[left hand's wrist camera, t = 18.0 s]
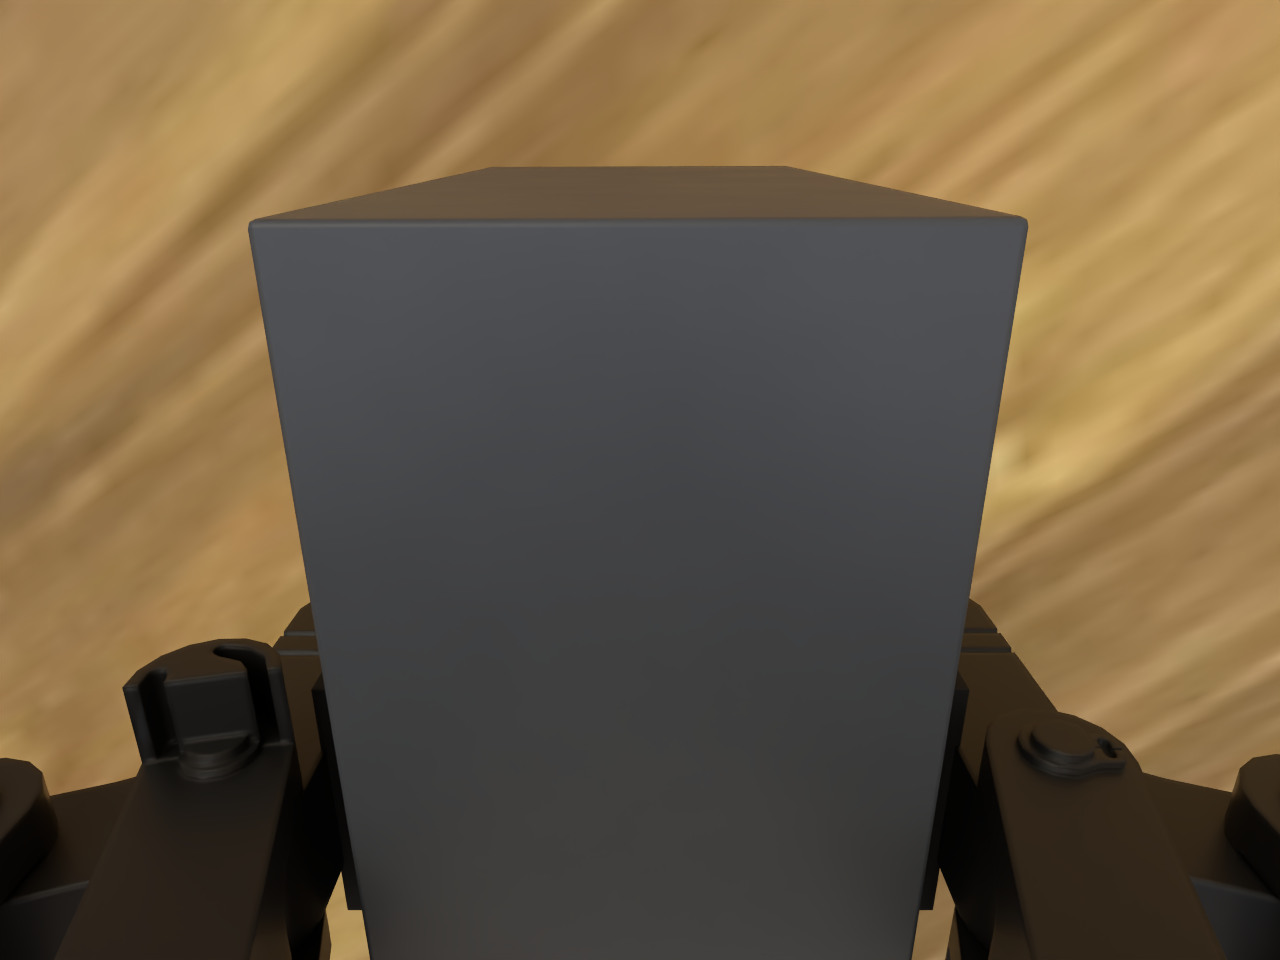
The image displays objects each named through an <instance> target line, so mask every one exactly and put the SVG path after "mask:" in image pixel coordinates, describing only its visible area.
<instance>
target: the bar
mask: <svg viewBox="0 0 1280 960" xmlns="http://www.w3.org/2000/svg"><path fill="white" fill-rule="evenodd" d="M1027 231H1028V222H1027V219H1025V218H1023V217H1021V216H1016V215H1012V214H1007V213H1002V212H998V211H993V210H988V209H984V208H979V207H974V206H970V205H965V204H960V203H956V202H951V201H946V200H942V199H937V198H932V197H928V196H923V195H918V194H914V193H909V192H904V191H900V190H895V189H890V188H886V187H881V186H876V185H872V184H867V183H862V182H858V181H853V180H848V179H844V178H839V177H834V176H830V175H825V174H820V173H816V172H811V171H806V170H802V169H797V168H792V167H788V166H677V167H490V168H486V169H481V170H477V171H472V172H468V173H463V174H459V175H454V176H449V177H445V178H440V179H436V180H431V181H427V182H422V183H418V184H413V185H408V186H404V187H399V188H395V189H390V190H386V191H381V192H377V193H372V194H367V195H363V196H358V197H354V198H349V199H345V200H340V201H336V202H331V203H327V204H322V205H317V206H313V207H308V208H304V209H299V210H295V211H290V212H286V213H281V214H276V215H272V216H267V217H263V218H258V219H255V220H253V221H251V222H249V227H248V232H249V238H250V244H251V250H252V256H253V262H254V268H255V274H256V280H257V286H258V292H259V298H260V304H261V310H262V315H263V321H264V327H265V333H266V339H267V345H268V351H269V357H270V363H271V369H272V375H273V381H274V387H275V393H276V399H277V405H278V411H279V417H280V423H281V429H282V435H283V441H284V447H285V453H286V459H287V465H288V471H289V477H290V483H291V489H292V495H293V501H294V507H295V513H296V519H297V525H298V531H299V537H300V543H301V549H302V554H303V560H304V566H305V572H306V578H307V584H308V590H309V596H310V602H311V608H312V614H313V620H314V626H315V632H316V638H317V644H318V650H319V656H320V662H321V668H322V674H323V680H324V686H325V692H326V698H327V704H328V710H329V716H330V722H331V728H332V734H333V740H334V746H335V752H336V758H337V764H338V770H339V776H340V782H341V788H342V794H343V800H344V805H345V811H346V817H347V823H348V829H349V835H350V841H351V847H352V853H353V859H354V865H355V871H356V877H357V883H358V889H359V895H360V901H361V907H362V913H363V919H364V925H365V931H366V937H367V943H368V949H369V955H370V960H911V959H912V953H913V946H914V940H915V934H916V928H917V921H918V915H919V909H920V903H921V896H922V890H923V884H924V877H925V871H926V865H927V859H928V852H929V846H930V840H931V833H932V827H933V821H934V815H935V808H936V802H937V796H938V790H939V783H940V777H941V771H942V764H943V758H944V752H945V746H946V739H947V733H948V727H949V720H950V714H951V708H952V702H953V695H954V689H955V683H956V677H957V670H958V664H959V658H960V651H961V645H962V639H963V633H964V626H965V620H966V614H967V608H968V601H969V595H970V589H971V582H972V576H973V570H974V564H975V557H976V551H977V545H978V538H979V532H980V526H981V520H982V513H983V507H984V501H985V495H986V488H987V482H988V476H989V469H990V463H991V457H992V451H993V444H994V438H995V432H996V425H997V419H998V413H999V407H1000V400H1001V394H1002V388H1003V382H1004V375H1005V369H1006V363H1007V356H1008V350H1009V344H1010V338H1011V331H1012V325H1013V319H1014V312H1015V306H1016V300H1017V294H1018V287H1019V281H1020V275H1021V269H1022V262H1023V256H1024V250H1025V243H1026V237H1027Z"/></svg>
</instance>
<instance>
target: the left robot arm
mask: <svg viewBox="0 0 1280 960" xmlns="http://www.w3.org/2000/svg"><path fill="white" fill-rule="evenodd" d="M122 688H123V692H124V696H125V700H126V703H127V707H128V711H129V715H130V719H131V722H132V726H133V730H134V734H135V738H136V741H137V745H138V749H139V753H140V757H141V760H142V765H141V767H140V769H139V772H138V774H137V776H136V777H133V778H130V779H126V780H122V781H119V782H115V783H110V784H105V785H100V786H96V787H91V788H86V789H81V790H77V791H72V792H67V793H62V794H58V795H53V796H49V792H48V789H47V786H46V783H45V780H44V777H43V773H42V772H41V771H40V770H39V769H38V768H36V767H35V766H34V765H33V764H31V763H30V762H28V761H22V760H16V759H10V758H0V960H330V952H331V940H330V932H329V925H328V920H327V914H326V907H327V904H328V902H329V899H330V897H331V895H332V892H333V890H334V887H335V885H336V882H337V880H338V877H339V875H340V873H341V872H342V878H343V884H344V890H345V896H346V902H347V908H348V910H362V907H361V901H360V895H359V889H358V883H357V877H356V871H355V865H354V859H353V853H352V847H351V841H350V835H349V829H348V823H347V817H346V811H345V805H344V800H343V794H342V788H341V782H340V776H339V770H338V764H337V758H336V752H335V746H334V740H333V734H332V728H331V722H330V716H329V710H328V704H327V698H326V692H325V686H324V680H323V674H322V668H321V662H320V656H319V650H318V644H317V638H316V632H315V626H314V620H313V614H312V608H311V602H310V603H308V604H307V605H305V606H304V607H302V608H301V609H300V610H299V612H298V613H297V614H296V616H295V617H294V619H293V620H292V621H291V623H290V624H289V625H288V627H287V628H286V630H285V631H284V636H280V638H279V639H278V641H277V642H276V643H275V645H274V646H273V647H271V646H269V645H268V644H267V643H262V642H258V641H254V640H250V639H217V640H212V641H207V642H202V643H197V644H192V645H188V646H186V647H183V648H181V649H178V650H175V651H173V652H170V653H168V654H165V655H162V656H160V657H159V658H157V659H155V660H154V661H152V662H151V663H149V664H147V665H146V666H144V667H143V668H141V669H139V670H138V671H137V672H136V673H135V674H134V675H133V676H132V677H131V678H130V680H129V681H128V682H127V683H126V684H125V685H124V686H123V687H122ZM940 869H941V872H942V874H943V876H944V879H945V881H946V884H947V886H948V889H949V891H950V893H951V896H952V898H953V901H954V903H955V909H954V914H953V920H952V926H951V931H950V937H949V942H948V948H947V953H946V959H945V960H1280V754H1274V755H1268V756H1261V757H1255V758H1252V759H1251V760H1250V761H1248V762H1247V763H1246V764H1245V765H1244V766H1242V767H1241V768H1240V770H1239V773H1238V776H1237V779H1236V782H1235V785H1234V789H1233V792H1227V791H1222V790H1217V789H1213V788H1208V787H1203V786H1198V785H1193V784H1189V783H1184V782H1179V781H1174V780H1169V779H1165V778H1161V777H1158V776H1154V775H1150V774H1147V773H1143V772H1142V770H1141V768H1140V766H1139V763H1138V762H1137V760H1136V759H1135V758H1134V756H1133V755H1132V754H1131V752H1130V751H1129V750H1128V748H1127V747H1126V746H1125V744H1124V743H1122V742H1121V741H1119V740H1118V739H1117V738H1115V737H1114V736H1113V735H1111V734H1110V733H1108V732H1107V731H1106V730H1104V729H1103V728H1101V727H1099V726H1097V725H1095V724H1092V723H1090V722H1088V721H1086V720H1083V719H1081V718H1079V717H1077V716H1074V715H1070V714H1065V713H1061V712H1058V711H1057V710H1056V708H1055V707H1054V706H1053V704H1052V703H1051V702H1050V700H1049V699H1048V698H1047V696H1046V695H1045V693H1044V692H1043V691H1042V689H1041V688H1040V687H1039V685H1038V684H1037V682H1036V681H1035V680H1034V678H1033V677H1032V676H1031V674H1030V673H1029V672H1028V670H1027V669H1026V667H1025V666H1024V665H1023V663H1022V662H1021V661H1020V659H1019V658H1018V657H1017V655H1016V654H1015V653H1011V647H1010V646H1009V644H1008V643H1007V641H1006V640H1005V639H1004V637H1003V636H1002V635H1001V633H997V628H996V626H995V625H994V624H993V622H992V621H991V620H990V618H989V617H988V615H987V614H986V613H985V611H984V610H983V609H982V607H981V606H980V605H978V604H977V603H975V602H974V601H972V600H971V599H969V601H968V608H967V614H966V620H965V626H964V633H963V639H962V645H961V651H960V658H959V664H958V670H957V677H956V683H955V689H954V695H953V702H952V708H951V714H950V720H949V727H948V733H947V739H946V746H945V752H944V758H943V764H942V771H941V777H940V783H939V790H938V796H937V802H936V808H935V815H934V821H933V827H932V833H931V840H930V846H929V852H928V859H927V865H926V871H925V877H924V884H923V890H922V896H921V903H920V909H919V910H933V905H934V899H935V893H936V887H937V881H938V876H939V870H940Z"/></svg>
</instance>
